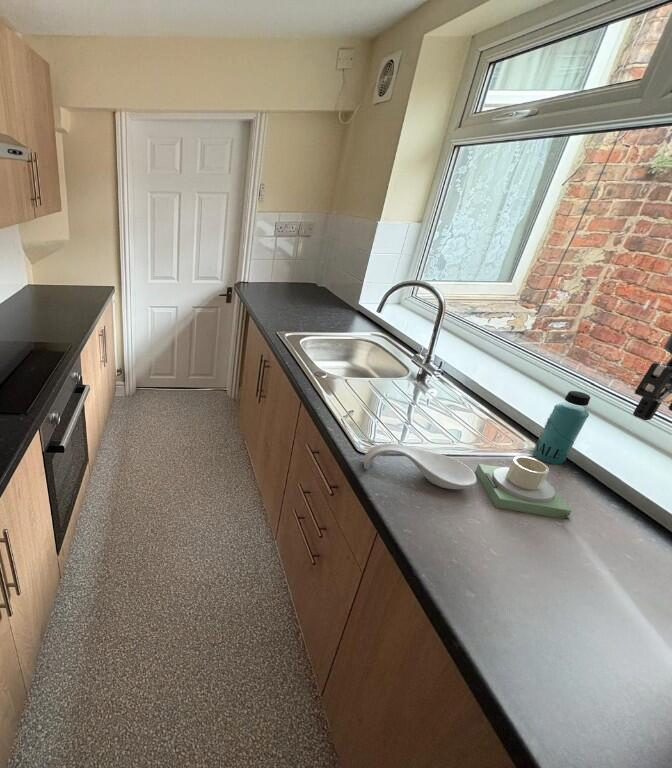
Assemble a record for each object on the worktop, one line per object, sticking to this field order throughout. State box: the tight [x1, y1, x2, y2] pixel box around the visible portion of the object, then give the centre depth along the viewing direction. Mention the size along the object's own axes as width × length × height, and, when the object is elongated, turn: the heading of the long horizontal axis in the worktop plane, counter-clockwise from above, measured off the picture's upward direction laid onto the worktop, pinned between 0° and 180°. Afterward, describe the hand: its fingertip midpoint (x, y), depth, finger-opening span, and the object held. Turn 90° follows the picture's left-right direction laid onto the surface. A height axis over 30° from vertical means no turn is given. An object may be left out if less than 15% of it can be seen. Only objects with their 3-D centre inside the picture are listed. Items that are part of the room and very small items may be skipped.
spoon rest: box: [363, 442, 478, 490], centre depth 101 cm, size 24×12×7 cm, turn 70°
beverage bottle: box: [532, 390, 591, 465], centre depth 102 cm, size 6×7×20 cm
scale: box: [474, 463, 572, 520], centre depth 95 cm, size 13×13×4 cm
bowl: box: [506, 455, 550, 490], centre depth 94 cm, size 6×6×5 cm
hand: (659, 414), depth 74 cm, fingers open, 8 cm apart
